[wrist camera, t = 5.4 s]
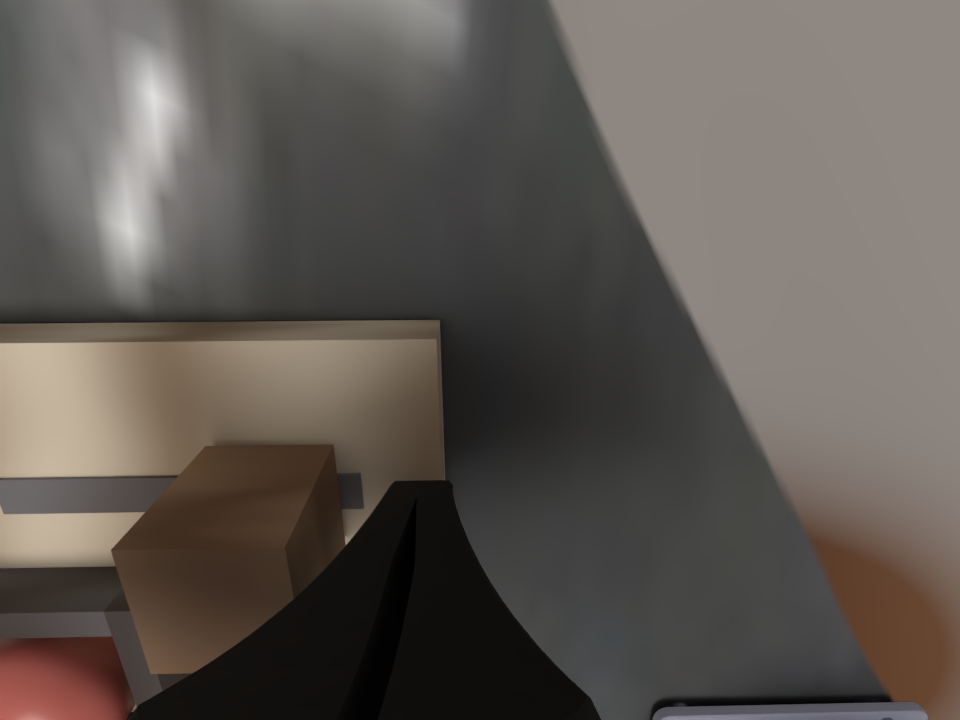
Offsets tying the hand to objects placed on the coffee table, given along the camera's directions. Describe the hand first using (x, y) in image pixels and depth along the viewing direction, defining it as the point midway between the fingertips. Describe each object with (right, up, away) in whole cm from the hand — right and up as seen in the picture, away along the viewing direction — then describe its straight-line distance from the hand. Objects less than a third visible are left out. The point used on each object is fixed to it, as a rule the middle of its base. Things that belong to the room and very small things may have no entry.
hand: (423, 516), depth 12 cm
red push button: (-10, -5, +2) cm, 12 cm away
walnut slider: (-4, 0, +1) cm, 4 cm away
